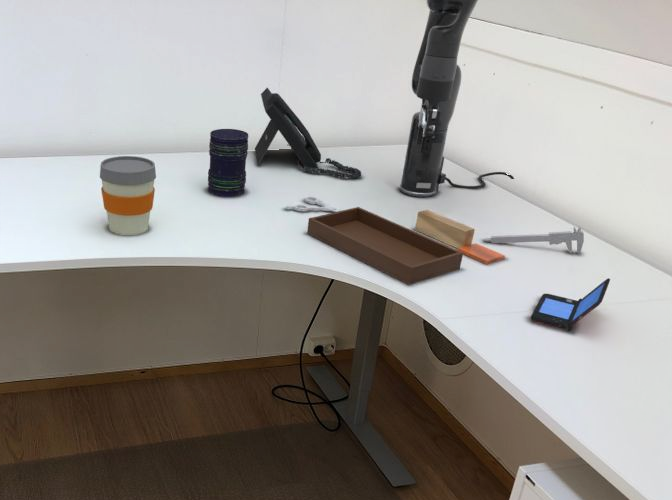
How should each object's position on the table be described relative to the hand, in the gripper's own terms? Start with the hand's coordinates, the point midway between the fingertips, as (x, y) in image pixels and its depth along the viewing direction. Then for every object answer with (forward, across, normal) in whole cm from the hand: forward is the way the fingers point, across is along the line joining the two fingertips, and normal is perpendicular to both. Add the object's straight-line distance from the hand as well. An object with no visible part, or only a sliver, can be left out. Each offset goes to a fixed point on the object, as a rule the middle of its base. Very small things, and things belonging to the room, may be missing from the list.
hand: (422, 148), depth 185 cm
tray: (+18, -22, +8) cm, 29 cm away
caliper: (+17, -13, -26) cm, 34 cm away
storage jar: (+18, +10, +46) cm, 50 cm away
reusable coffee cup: (+19, -21, +66) cm, 71 cm away
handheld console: (+18, -47, -25) cm, 56 cm away
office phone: (+17, +40, +26) cm, 51 cm away
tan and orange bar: (+17, -14, -9) cm, 24 cm away
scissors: (+18, 0, +19) cm, 26 cm away
